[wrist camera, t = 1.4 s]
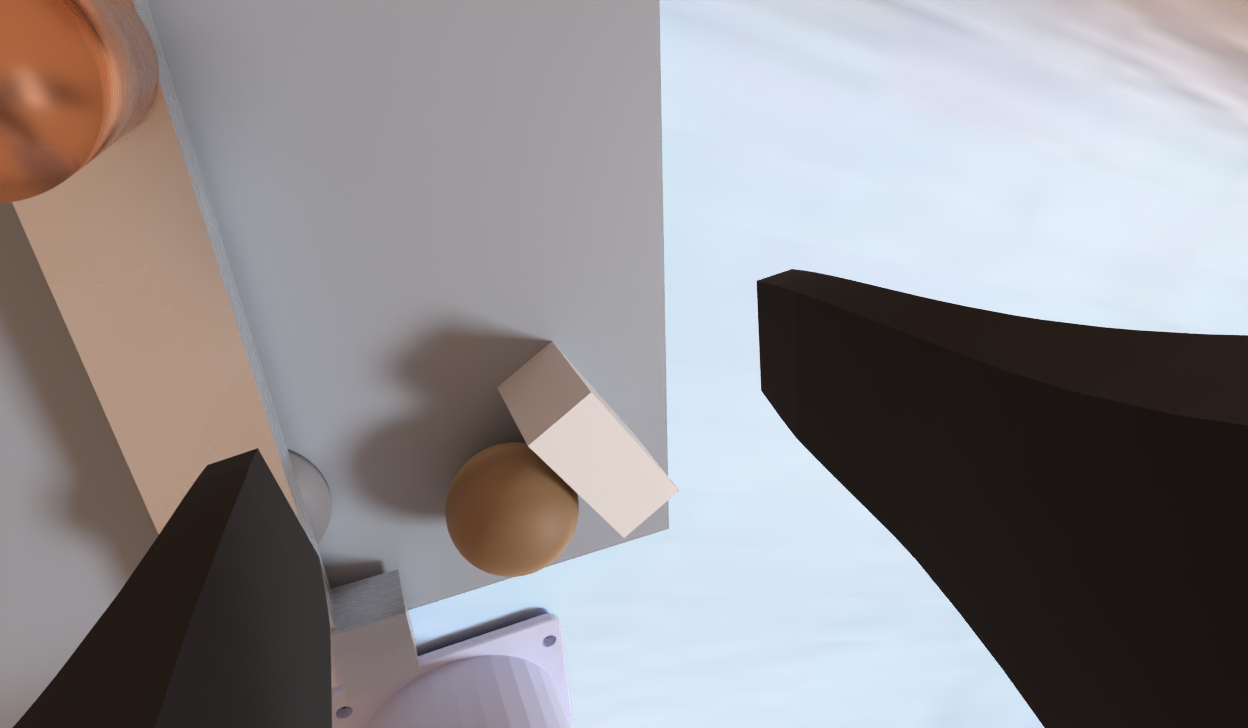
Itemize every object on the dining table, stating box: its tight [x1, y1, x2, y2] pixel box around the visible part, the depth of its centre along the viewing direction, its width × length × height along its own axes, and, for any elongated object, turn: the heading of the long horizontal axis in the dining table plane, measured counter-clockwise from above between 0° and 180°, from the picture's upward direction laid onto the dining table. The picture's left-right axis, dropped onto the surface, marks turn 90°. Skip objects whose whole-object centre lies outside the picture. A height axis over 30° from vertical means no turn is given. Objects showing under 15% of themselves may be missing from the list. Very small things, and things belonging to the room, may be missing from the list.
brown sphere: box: [445, 442, 579, 577], centre depth 20 cm, size 4×4×4 cm
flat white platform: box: [0, 0, 679, 728], centre depth 16 cm, size 19×23×4 cm
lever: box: [0, 0, 421, 700], centre depth 14 cm, size 18×5×6 cm, turn 3°
